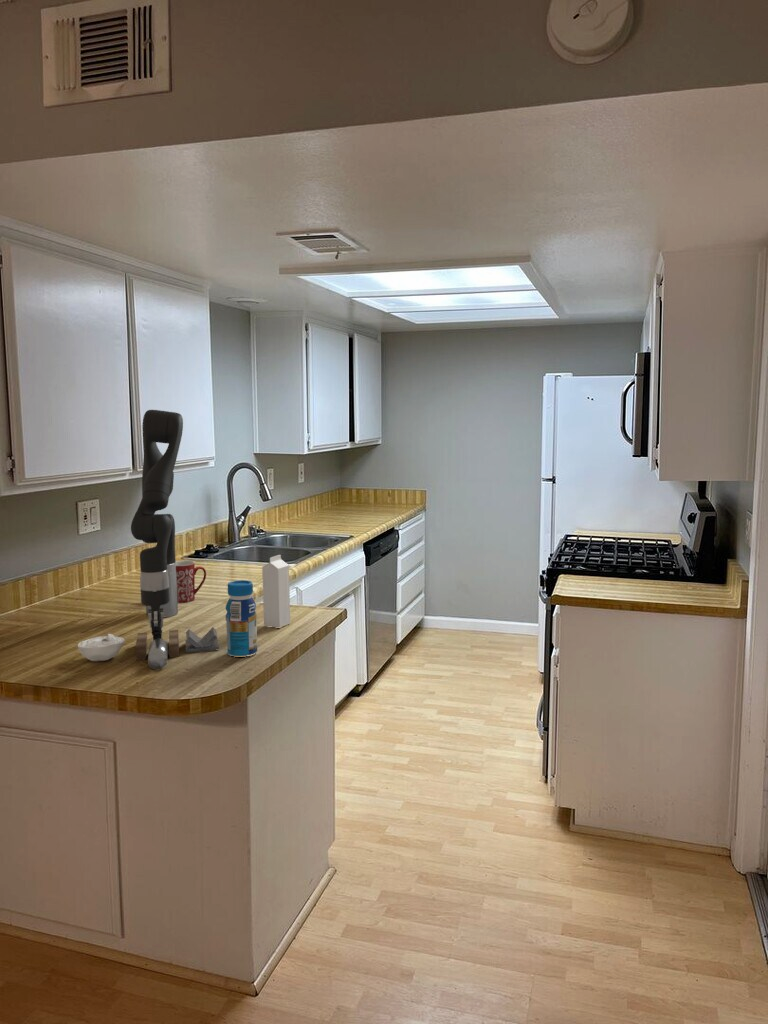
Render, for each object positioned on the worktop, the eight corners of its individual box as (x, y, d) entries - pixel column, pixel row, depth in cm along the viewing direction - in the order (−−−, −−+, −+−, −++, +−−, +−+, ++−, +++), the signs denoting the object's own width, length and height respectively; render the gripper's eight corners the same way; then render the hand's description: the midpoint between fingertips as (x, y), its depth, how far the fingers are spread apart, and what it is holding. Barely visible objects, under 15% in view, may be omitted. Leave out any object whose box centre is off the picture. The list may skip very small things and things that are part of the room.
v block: (185, 643, 220) (184, 628, 219) (217, 640, 222) (216, 626, 221) (186, 652, 211) (185, 637, 210) (219, 650, 213) (218, 634, 213)
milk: (263, 626, 236) (261, 557, 233) (274, 621, 241) (272, 553, 238) (280, 629, 233) (277, 558, 230) (291, 624, 239) (288, 554, 236)
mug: (169, 604, 265) (167, 566, 263) (171, 598, 273) (170, 561, 272) (206, 602, 267) (205, 564, 265) (207, 596, 276) (206, 559, 274)
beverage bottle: (221, 653, 211) (219, 582, 208) (249, 647, 216) (246, 577, 213) (235, 660, 204) (232, 587, 201) (263, 654, 209) (261, 583, 206)
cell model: (77, 656, 209) (76, 632, 208) (123, 651, 213) (122, 627, 212) (79, 668, 199) (77, 643, 198) (127, 661, 204) (125, 637, 203)
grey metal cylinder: (149, 655, 208) (150, 638, 208) (167, 655, 210) (168, 638, 209) (147, 669, 197) (148, 651, 196) (166, 669, 198) (167, 651, 198)
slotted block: (138, 645, 219) (137, 633, 218) (178, 641, 221) (178, 629, 221) (136, 660, 205) (135, 647, 205) (179, 656, 208) (178, 644, 208)
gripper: (141, 582, 214) (144, 641, 217) (139, 592, 202) (142, 656, 204) (169, 580, 216) (172, 639, 218) (168, 590, 203) (171, 653, 206)
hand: (157, 647), depth 211 cm, fingers closed
